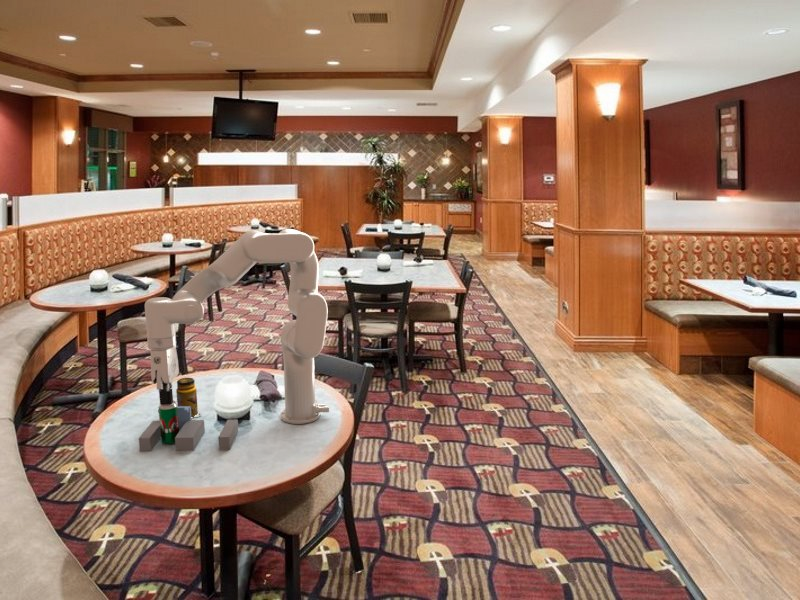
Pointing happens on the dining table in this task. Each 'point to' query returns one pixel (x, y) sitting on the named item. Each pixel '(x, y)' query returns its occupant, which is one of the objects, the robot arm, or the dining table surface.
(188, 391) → the condiment
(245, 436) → the dining table surface
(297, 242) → the robot arm
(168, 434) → the soda can
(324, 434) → the dining table surface
